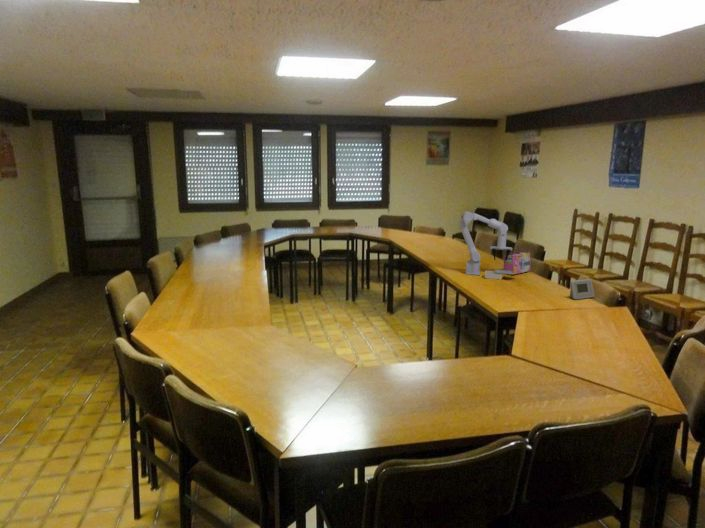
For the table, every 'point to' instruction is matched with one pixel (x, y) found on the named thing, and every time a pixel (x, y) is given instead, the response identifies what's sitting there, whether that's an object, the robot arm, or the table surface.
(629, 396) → the table surface
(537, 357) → the table surface
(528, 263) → the gum box
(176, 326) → the table surface
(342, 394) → the table surface
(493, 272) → the tub
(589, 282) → the digital clock
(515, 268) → the lid
